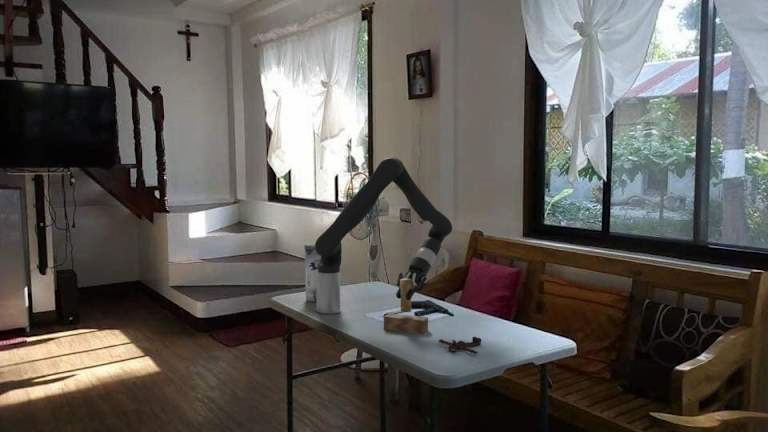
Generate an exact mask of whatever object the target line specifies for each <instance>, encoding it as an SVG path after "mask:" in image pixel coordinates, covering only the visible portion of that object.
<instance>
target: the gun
mask: <svg viewBox="0 0 768 432" xmlns="http://www.w3.org/2000/svg"><path fill="white" fill-rule="evenodd" d="M411 309H423V310H416V311H414V313H413V315H414V314H415V315H417V316H419V317H420V315H422V316H426V315H430V314H433V313H441V314H446V315H448V316H450V317H451V316H452V317H453V316H454V315H455V314H454V313H452V312H450V310H449V309H447V308H446V307H444V306H441V305H439V304H437V303H436V302H434V301H432V300H429V299H427V300H411ZM429 313H430V314H429ZM425 314H426V315H425ZM415 315H414V316H415Z"/></svg>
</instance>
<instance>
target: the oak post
mask: <svg viewBox="0 0 768 432" xmlns="http://www.w3.org/2000/svg"><path fill="white" fill-rule="evenodd" d="M400 285H401V298H400V312H402V313H410V312H412V308H411V301H412V298H411V299H410V300H407V299H406V298H405V296H406V294H407V293H408V291H409V289H410V288H411V279H400Z"/></svg>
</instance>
